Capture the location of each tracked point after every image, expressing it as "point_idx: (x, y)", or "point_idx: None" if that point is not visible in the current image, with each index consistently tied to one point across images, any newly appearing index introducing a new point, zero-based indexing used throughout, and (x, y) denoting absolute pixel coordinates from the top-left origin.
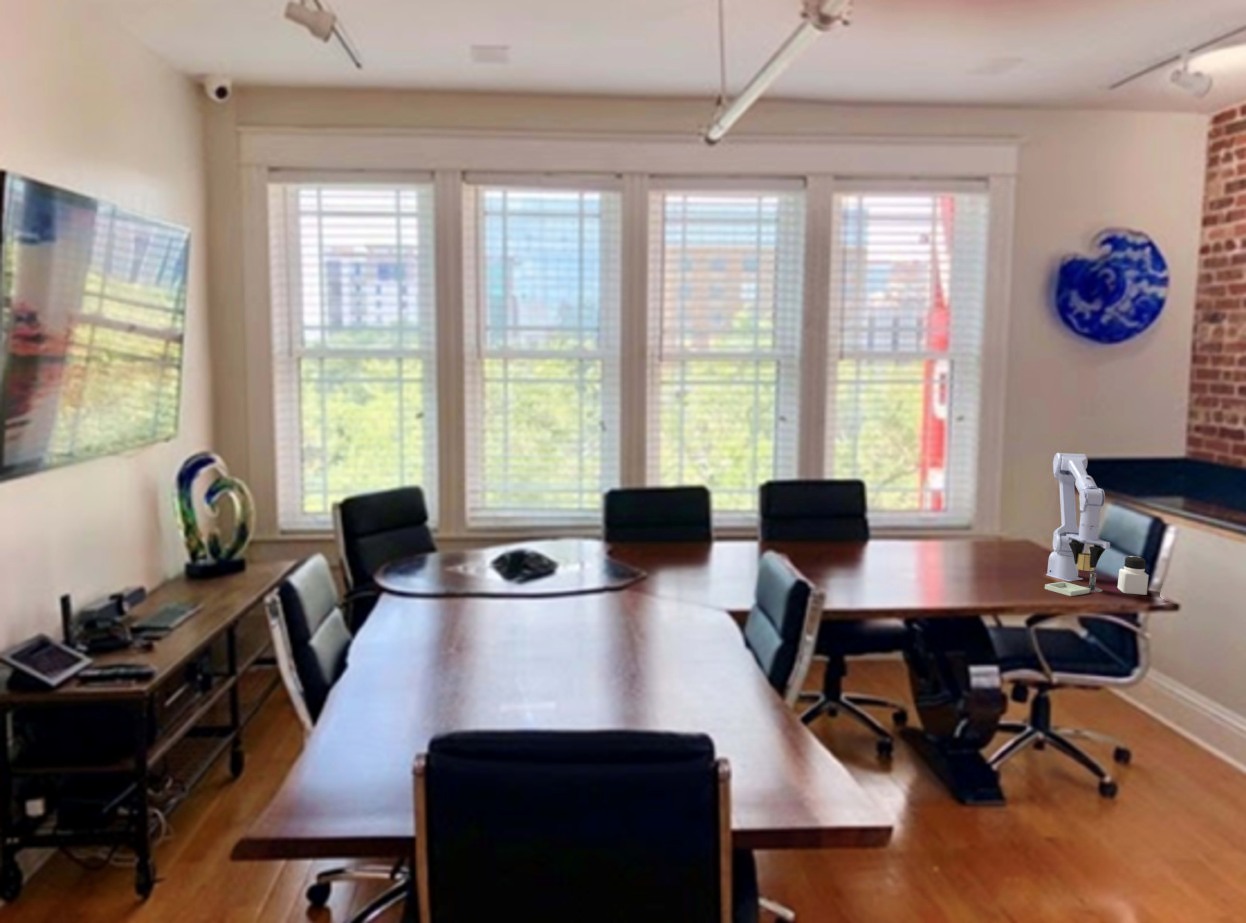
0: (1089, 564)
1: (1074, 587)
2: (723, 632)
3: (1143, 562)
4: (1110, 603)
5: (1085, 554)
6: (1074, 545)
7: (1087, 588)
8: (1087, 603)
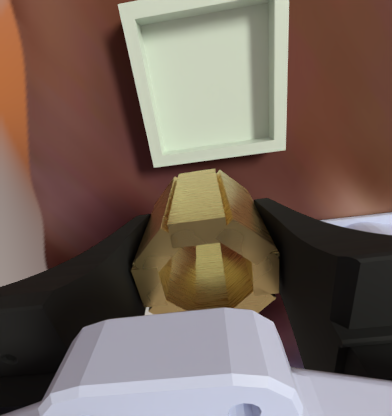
0: (150, 219)
1: (218, 145)
2: None
3: None
4: (32, 140)
5: (240, 293)
6: (334, 252)
7: (159, 160)
8: (28, 23)
